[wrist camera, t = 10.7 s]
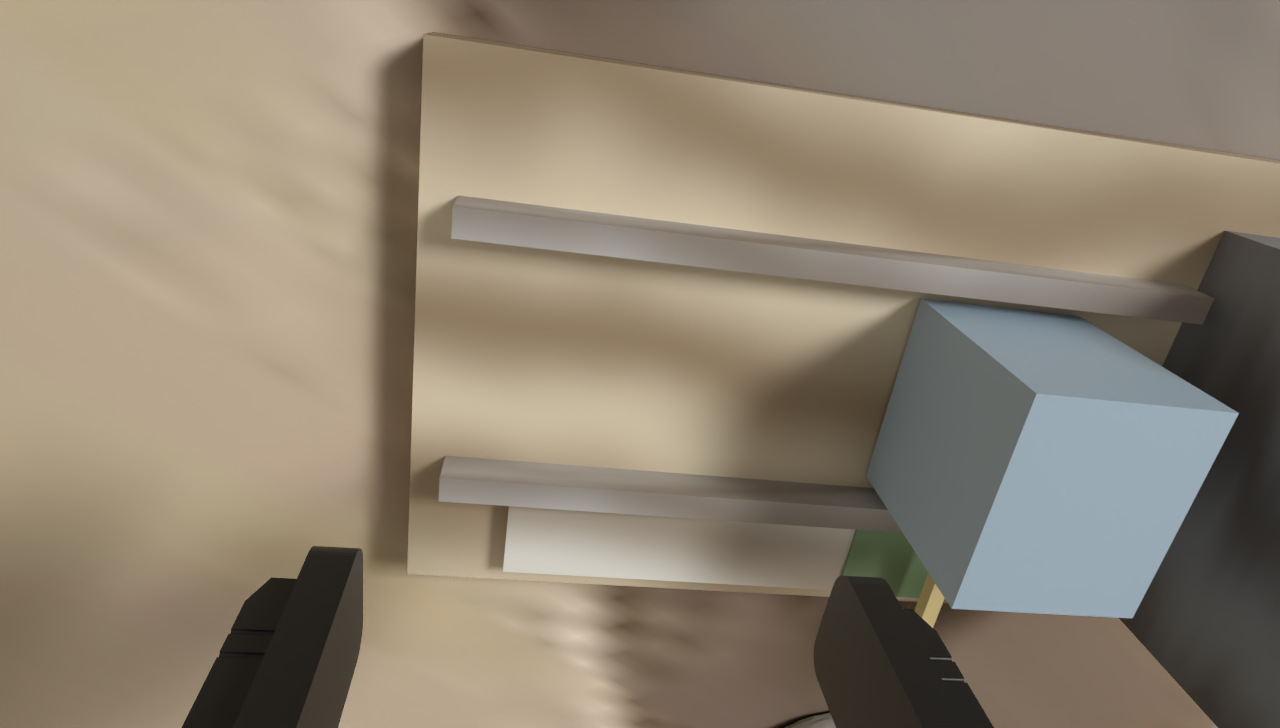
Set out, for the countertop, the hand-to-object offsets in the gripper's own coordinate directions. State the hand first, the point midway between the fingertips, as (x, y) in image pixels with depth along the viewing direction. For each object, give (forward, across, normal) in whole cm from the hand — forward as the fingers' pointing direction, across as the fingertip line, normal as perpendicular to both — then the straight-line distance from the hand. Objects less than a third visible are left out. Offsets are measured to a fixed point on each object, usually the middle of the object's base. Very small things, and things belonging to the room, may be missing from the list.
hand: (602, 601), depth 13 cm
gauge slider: (+10, -13, +2) cm, 16 cm away
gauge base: (+11, -8, 0) cm, 14 cm away
